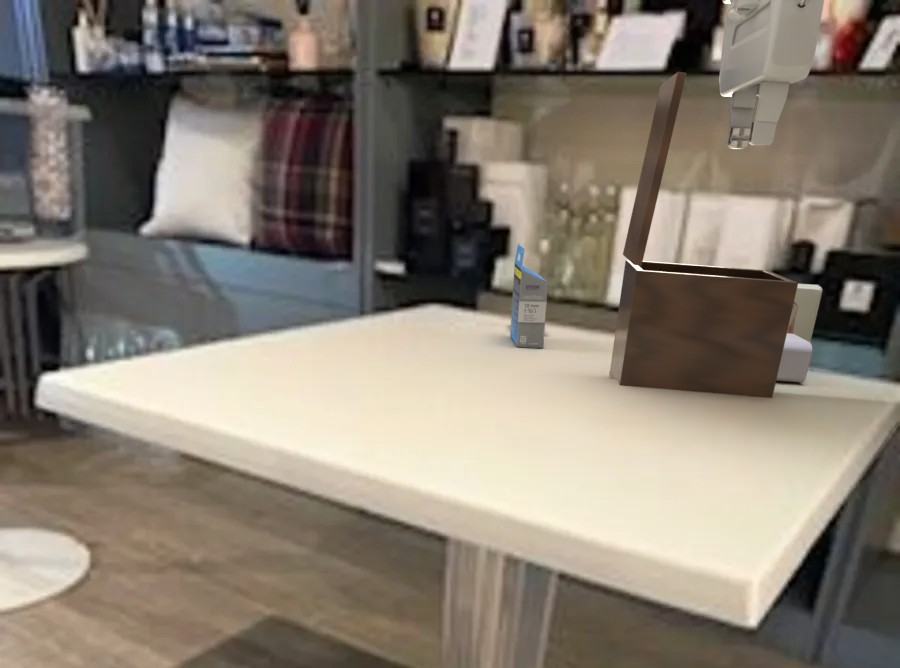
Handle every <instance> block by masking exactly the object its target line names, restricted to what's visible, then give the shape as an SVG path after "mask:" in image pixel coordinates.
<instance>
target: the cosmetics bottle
mask: <svg viewBox="0 0 900 668" xmlns="http://www.w3.org/2000/svg"><path fill="white" fill-rule="evenodd" d="M823 292H824V291H823V288H822V286H820V284H811V283H810V284H809V283H798V286H797V291H796V295H795V300H794V304H793V308H792V313H791V317H790V322H789V326H788V331H787V333H788V334H795V335H797V336H798V337H800V338H802V339H804V340H806V341H808V342H810V343H811V342H812V338H813V333H814V328H815V324H816V320H817V316H818V311H819V307H820V304H821V299H822V294H823Z"/></svg>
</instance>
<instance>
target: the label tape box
mask: <svg viewBox="0 0 900 668" xmlns="http://www.w3.org/2000/svg"><path fill="white" fill-rule="evenodd" d="M524 257H525V247H523V246H522V245H521V243H520V242H518V243H517V247H516V253H515V257H514V265H513V266H514V269H513V271H514V272H513V283H512V299H511V314H510V315H511V316H510V328H509V329H510V330H509V331H510V332H509V334H510V335H509V336H510V337H511V339H512V341H513V342H514V344H515V346H516V347H518V348H531V349H532V348H544V347H545V329H546V315H547V314H546V313H547V304H548V303H547V301H548V291H549V290H548V288H549V282H548V280H546V279H545V278H544V277H542V276H541V275H540V274H538V273H536V272H535V271H533V270H531V269H529V268H528V267H525V266H524V265H523V264H524V263H523V262H524Z"/></svg>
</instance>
